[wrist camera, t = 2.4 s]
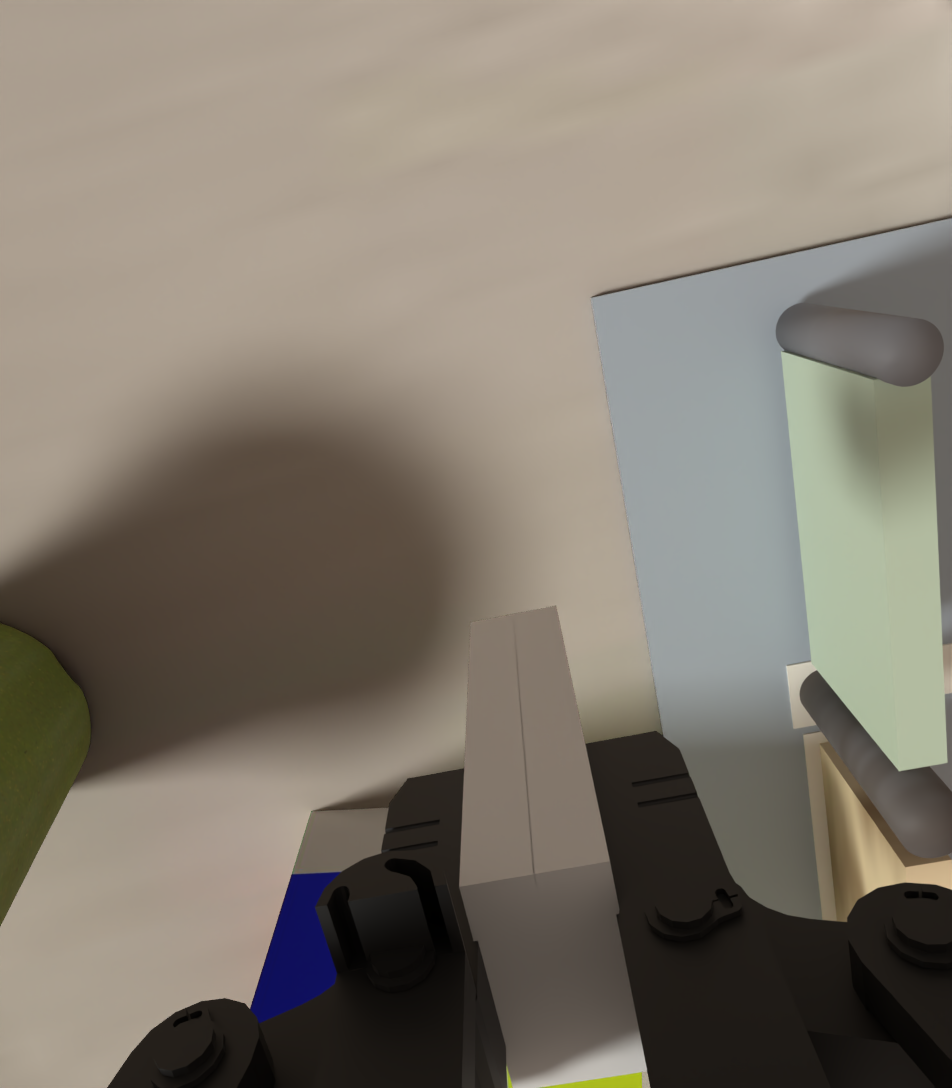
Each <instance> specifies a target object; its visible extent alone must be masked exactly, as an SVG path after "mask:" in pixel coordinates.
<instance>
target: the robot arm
mask: <svg viewBox="0 0 952 1088" xmlns="http://www.w3.org/2000/svg"><path fill="white" fill-rule="evenodd" d="M385 833H386V834H384V837H383V842H382V848H381V852H382V853H381V854H377V855H374V856H371V857H367V858H364V859H362V860H361V861H359V862H357V863H355V864H354V865H352V866H350V867H348V868H347V869H345V870H343V871H342V872H341V873H340V874H339V875H338V876H336V877H335V878H334V879H333V880H332V881H331V882H330V883H329V884H328V885H327V886H326V887H325V888H324V890H323V892H322V894H321V896H320V898H319V900H318V902H317V904H316V906H315V909H316V912H317V915H318V918H319V921H320V924H321V927H322V930H323V933H324V936H325V939H326V942H327V945H328V948H329V951H330V954H331V957H332V960H333V963H334V966H335V969H336V972H337V975H336V980H335V984H334V985H332V986H331V987H330V988H328V989H327V990H326V991H325V992H323V993H322V994H321V995H319V996H317V997H315V998H313V999H311V1000H309V1001H308V1002H306V1003H304V1004H302V1005H300V1006H297V1007H295V1008H293V1009H291V1010H288V1011H286V1012H284V1013H282V1014H279V1015H277V1016H275V1017H272V1018H270V1019H268V1020H266V1021H263V1022H261V1023H259V1022H258V1019H257V1017H256V1016H255V1014H254V1013H253V1012H252V1011H251V1010H250V1009H249V1008H248V1007H247V1006H246V1004H245V1003H241V1002H237V1001H233V1000H230V999H226V998H224V999H216V1000H209V1001H201V1002H199V1003H197V1004H194V1005H192V1006H190V1007H187V1008H185V1009H182V1010H180V1011H178V1012H175V1013H174V1014H173V1015H171V1016H170V1017H169V1018H167V1019H166V1020H164V1021H163V1022H162V1023H160V1024H159V1025H158V1026H156V1027H155V1028H153V1029H152V1030H151V1031H150V1032H149V1033H148V1034H147V1035H146V1037H145V1038H144V1039H143V1040H142V1041H141V1042H140V1043H139V1045H138V1046H137V1047H136V1048H135V1049H134V1050H133V1051H132V1052H131V1054H130V1055H129V1057H128V1058H127V1060H126V1061H125V1063H124V1064H123V1065H122V1067H121V1068H120V1070H119V1071H118V1073H117V1074H116V1076H115V1077H114V1079H113V1080H112V1082H111V1083H110V1084H109V1086H108V1087H107V1088H507V1068H508V1072H509V1076H510V1079H511V1083H512V1087H513V1088H540V1087H546V1086H553V1085H560V1084H566V1083H573V1082H580V1081H586V1080H593V1079H599V1078H606V1077H613V1076H619V1075H626V1074H632V1073H639V1072H646V1071H647V1072H648V1077H649V1082H650V1087H651V1088H952V890H951V889H948V888H945V887H942V886H939V885H935V884H921V883H907V882H904V883H899V884H894V885H889V886H884V887H879V888H876V889H875V890H873V891H871V892H870V893H868V894H866V895H865V896H863V897H861V898H860V899H858V900H857V902H856V903H855V905H854V907H853V908H852V910H851V912H850V913H849V915H848V917H847V922H840V921H829V920H818V919H808V918H802V917H797V916H791V915H786V914H783V913H781V912H778V911H775V910H772V909H769V908H767V907H765V906H763V905H762V904H760V903H758V902H757V901H755V900H753V899H752V898H750V897H749V896H748V895H747V894H746V892H745V891H744V890H743V888H742V887H741V886H740V885H738V884H736V883H735V881H734V879H733V878H732V876H731V874H730V873H729V870H728V868H727V865H726V863H725V860H724V858H723V855H722V853H721V850H720V848H719V845H718V843H717V840H716V838H715V836H714V833H713V831H712V828H711V826H710V823H709V821H708V818H707V816H706V813H705V811H704V808H703V806H702V803H701V801H700V798H699V797H698V795H697V791H696V789H695V786H694V784H693V781H692V779H691V777H690V775H689V771H688V769H687V766H686V764H685V761H684V759H683V757H682V754H681V752H680V749H679V748H678V747H676V746H675V745H674V744H672V743H671V742H670V741H669V740H667V739H666V738H665V737H663V736H662V735H661V734H659V733H658V732H657V731H654V732H648V733H643V734H637V735H632V736H626V737H621V738H615V739H610V740H604V741H599V742H593V743H588V744H585V740H584V736H583V731H582V726H581V721H580V717H579V712H578V707H577V702H576V698H575V693H574V688H573V683H572V679H571V674H570V669H569V664H568V660H567V655H566V650H565V645H564V641H563V636H562V631H561V626H560V622H559V617H558V612H557V607H556V606H552V607H546V608H541V609H536V610H531V611H526V612H521V613H516V614H510V615H505V616H500V617H495V618H490V619H485V620H480V621H474V622H470V645H469V669H468V692H467V715H466V739H465V762H464V769H459V770H453V771H448V772H442V773H437V774H431V775H426V776H420V777H415V778H409V779H407V781H406V782H405V783H404V785H403V786H402V787H401V789H400V790H399V791H398V793H397V794H396V795H395V797H394V798H393V799H392V801H391V802H390V804H389V809H388V815H387V820H386V826H385ZM506 1064H507V1068H506Z"/></svg>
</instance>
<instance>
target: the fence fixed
mask: <svg viewBox="0 0 952 1088" xmlns="http://www.w3.org/2000/svg"><path fill="white" fill-rule="evenodd" d="M799 694H800V701H801V703H802V705H803V706H804V708H805V709H806V711H807V712H808V713H809V715H810V716H811V718H812V719H813V720H814V722H815V723H816V725H817V726H818V727H819V729H820V730H821V732H822V733H823V734H824V736H825V737H826V739H827V740H828V741H829V742H825V743H820V754H821V764H822V774H823V784H824V795H825V805H826V815H827V825H828V835H829V845H830V856H831V866H832V876H833V886H834V896H835V907H836V917H837V921H840V922H847V917H848V915H849V913H850V912H851V910H852V908H853V907H854V905H855V903H856V902H857V900H858V899H860V898H861V897H863V896H865V895H866V894H868V893H870V892H871V891H873V890H875V889H876V888H879V887H884V886H889V885H894V884H899V883H904V882H907V883H921V884H935V885H939V886H942V887H945V888H948V889H951V890H952V859H951V858H950V857H949V855H948V854H950V853H952V791H951V790H950V789H949V788H948V787H947V785H946V784H945V783H944V782H943V781H942V780H941V779H940V777H939V776H938V775H937V774H936V773H935V772H934V771H933V769H932V768H931V767H930V766H927V767H921V768H915V769H909V770H904V771H898V769H897V768H896V767H895V766H894V764H893V763H892V762H891V761H890V759H889V758H888V757H887V756H886V755H885V753H884V752H883V751H882V750H881V748H880V747H879V746H878V745H877V743H876V742H875V741H874V740H873V739H872V737H871V736H870V735H869V734H868V732H867V731H866V730H865V729H864V727H863V726H862V725H861V724H860V722H859V721H858V720H857V719H856V718H855V716H854V715H853V714H852V713H851V711H850V710H849V709H848V708H847V706H846V705H845V704H844V703H843V702H842V700H841V699H840V698H839V697H838V695H837V694H836V693H835V692H834V690H833V689H832V688H831V687H830V685H829V684H828V683H827V682H826V681H825V679H824V678H823V677H822V676H821V674H820V673H819V672H818V671H817V670H816V671H814V672H813V673H811V674H810V675H809V676H808V677H807V678H806V679H805V680H804V681H803V683H802V685H801V688H800V693H799Z"/></svg>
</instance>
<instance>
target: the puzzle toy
mask: <svg viewBox="0 0 952 1088" xmlns="http://www.w3.org/2000/svg"><path fill="white" fill-rule="evenodd" d="M388 809H389V808H370V809H350V810H329V811H311V814H310V817H309V820H308V823H307V827H306V830H305V833H304V836H303V840H302V843H301V846H300V849H299V852H298V856H297V859H296V862H295V865H294V869H293V872H292V875H291V878H290V882H289V885H288V888H287V891H286V894H285V898H284V901H283V904H282V907H281V911H280V914H279V917H278V920H277V924H276V927H275V930H274V933H273V937H272V940H271V943H270V946H269V949H268V953H267V956H266V959H265V962H264V966H263V969H262V972H261V975H260V979H259V982H258V985H257V988H256V991H255V995H254V998H253V1001H252V1004H251V1008H250V1010H251V1011H252V1012H253V1013H254V1014H255V1016H256V1017H257V1019H258V1022H259V1023H261V1022H263V1021H266V1020H268V1019H270V1018H272V1017H275V1016H277V1015H279V1014H282V1013H284V1012H286V1011H288V1010H291V1009H293V1008H295V1007H297V1006H300V1005H302V1004H304V1003H306V1002H308V1001H309V1000H311V999H313V998H315V997H317V996H319V995H321V994H322V993H323V992H325V991H326V990H327V989H328V988H330V987H331V986H332V985H334V984H335V980H336V975H337V972H336V969H335V966H334V963H333V960H332V957H331V954H330V951H329V948H328V945H327V942H326V939H325V936H324V933H323V930H322V927H321V924H320V921H319V918H318V915H317V912H316V909H315V906H316V904H317V902H318V900H319V898H320V896H321V894H322V892H323V890H324V888H325V887H326V886H327V885H328V884H329V883H330V882H331V881H332V880H333V879H334V878H335V877H336V876H338V875H339V874H340V873H341V872H342V871H343V870H345V869H347V868H348V867H350V866H352V865H354V864H355V863H357V862H359V861H361V860H362V859H364V858H367V857H371V856H374V855H377V854H381V853H382V852H381V848H382V842H383V837H384V834H386V833H385V826H386V820H387V815H388ZM506 1068H507V1064H506ZM507 1088H513V1087H512V1083H511V1079H510V1076H509V1072H508V1068H507ZM540 1088H642V1072H639V1073H632V1074H626V1075H619V1076H613V1077H606V1078H599V1079H593V1080H586V1081H580V1082H573V1083H566V1084H560V1085H553V1086H546V1087H540Z"/></svg>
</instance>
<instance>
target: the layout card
mask: <svg viewBox="0 0 952 1088" xmlns="http://www.w3.org/2000/svg"><path fill="white" fill-rule="evenodd" d="M591 303H592V309H593V315H594V321H595V327H596V333H597V339H598V345H599V351H600V357H601V363H602V369H603V375H604V381H605V387H606V393H607V399H608V405H609V412H610V418H611V424H612V430H613V436H614V442H615V448H616V454H617V460H618V466H619V472H620V478H621V484H622V490H623V496H624V502H625V508H626V514H627V521H628V527H629V533H630V539H631V545H632V551H633V557H634V563H635V569H636V575H637V581H638V587H639V593H640V599H641V605H642V611H643V617H644V623H645V630H646V636H647V642H648V648H649V654H650V660H651V666H652V672H653V678H654V684H655V690H656V696H657V702H658V708H659V714H660V720H661V726H662V732H663V737H665V738H666V739H667V740H669V741H670V742H671V743H672V744H674V745H675V746H676V747H678V748H679V749H680V752H681V754H682V757H683V759H684V761H685V764H686V766H687V769H688V771H689V775H690V777H691V779H692V781H693V784H694V786H695V789H696V791H697V795H698V797H699V798H700V801H701V803H702V806H703V808H704V811H705V813H706V816H707V818H708V821H709V823H710V826H711V828H712V831H713V833H714V836H715V838H716V840H717V843H718V845H719V848H720V850H721V853H722V855H723V858H724V860H725V863H726V865H727V868H728V870H729V873H730V874H731V876H732V878H733V879H734V881H735V883H736V884H738V885H740V886H741V887H742V888H743V890H744V891H745V892H746V894H747V895H748V896H749V897H750V898H752V899H753V900H755V901H757V902H758V903H760V904H762V905H763V906H765V907H767V908H769V909H772V910H775V911H778V912H781V913H783V914H786V915H791V916H797V917H802V918H808V919H818V920H829V921H837V917H836V907H835V896H834V886H833V876H832V866H831V856H830V845H829V835H828V825H827V815H826V805H825V795H824V784H823V774H822V764H821V754H820V743H825V742H829V741H828V740H827V739H826V737H825V736H824V734H823V733H822V732H821V730H820V729H819V727H818V726H817V725H816V723H815V722H814V720H813V719H812V718H811V716H810V715H809V713H808V712H807V711H806V709H805V708H804V706H803V705H802V703H801V701H800V694H799V693H800V688H801V685H802V683H803V681H804V680H805V679H806V678H807V677H808V676H809V675H810V674H811V673H813V672H814V671H816V670H817V669H816V668H815V667H814V666H813V665H812V662H811V652H810V642H809V632H808V621H807V611H806V601H805V591H804V581H803V571H802V560H801V550H800V540H799V530H798V520H797V509H796V499H795V489H794V479H793V469H792V459H791V448H790V438H789V428H788V418H787V408H786V397H785V387H784V377H783V367H782V357H781V351H784V349H783V348H782V347H781V346H780V345H779V343H778V341H777V338H776V325H777V322H778V319H779V317H780V316H781V314H782V313H783V312H784V311H785V310H786V309H788V308H789V307H791V306H793V305H795V304H798V303H810V304H817V305H824V306H831V307H839V308H846V309H853V310H860V311H868V312H875V313H882V314H889V315H897V316H904V317H911V318H918V319H924V320H927V321H929V322H931V323H932V324H934V325H935V326H936V327H937V328H938V330H939V331H940V333H941V335H942V338H943V342H944V352H943V357H942V360H941V362H940V364H939V366H938V368H937V369H936V371H935V372H934V373H933V374H932V375H931V392H932V415H933V438H934V462H935V485H936V508H937V531H938V554H939V577H940V600H941V623H942V646H943V669H944V692H945V715H946V738H947V761H948V763H944V764H938V765H932V766H930V767H931V768H932V769H933V771H934V772H935V773H936V774H937V775H938V776H939V777H940V779H941V780H942V781H943V782H944V783H945V784H946V785H947V787H948V788H949V789H950V790H951V791H952V218H948V219H944V220H939V221H935V222H930V223H925V224H921V225H916V226H912V227H907V228H903V229H898V230H894V231H889V232H885V233H880V234H876V235H871V236H867V237H862V238H858V239H853V240H849V241H844V242H840V243H835V244H831V245H826V246H821V247H817V248H812V249H808V250H803V251H799V252H794V253H790V254H785V255H781V256H776V257H772V258H767V259H763V260H758V261H754V262H749V263H745V264H740V265H736V266H731V267H727V268H722V269H717V270H713V271H708V272H704V273H699V274H695V275H690V276H686V277H681V278H677V279H672V280H668V281H663V282H659V283H654V284H650V285H645V286H641V287H636V288H632V289H627V290H623V291H618V292H613V293H609V294H604V295H600V296H595V297H591ZM948 855H949V857H950V858H951V859H952V853H950V854H948Z"/></svg>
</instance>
